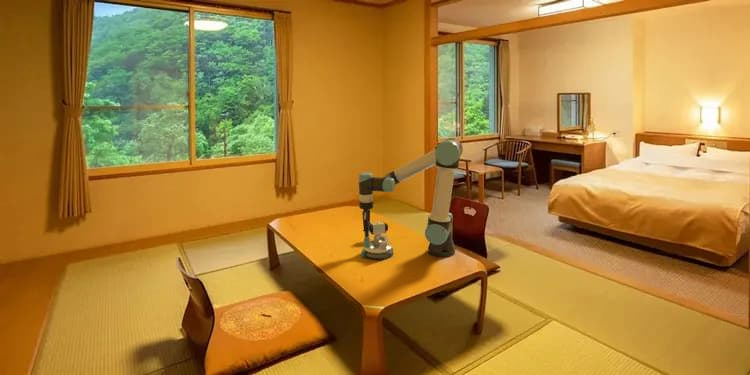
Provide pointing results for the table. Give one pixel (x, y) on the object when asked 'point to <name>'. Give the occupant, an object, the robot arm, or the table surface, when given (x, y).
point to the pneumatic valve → (378, 229)
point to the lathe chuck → (377, 245)
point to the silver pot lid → (376, 255)
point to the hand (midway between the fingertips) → (367, 241)
